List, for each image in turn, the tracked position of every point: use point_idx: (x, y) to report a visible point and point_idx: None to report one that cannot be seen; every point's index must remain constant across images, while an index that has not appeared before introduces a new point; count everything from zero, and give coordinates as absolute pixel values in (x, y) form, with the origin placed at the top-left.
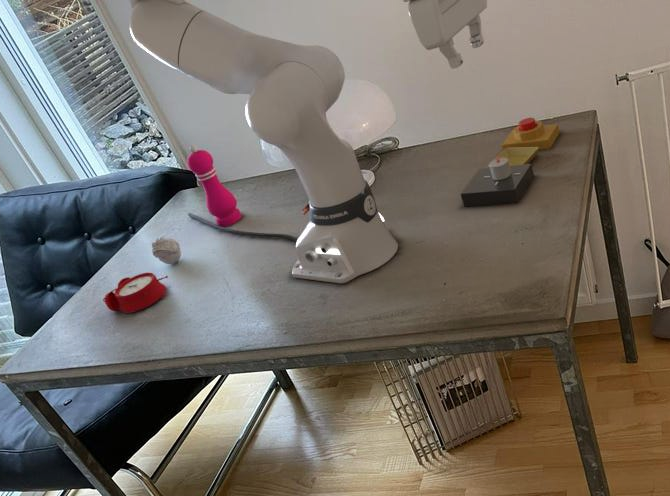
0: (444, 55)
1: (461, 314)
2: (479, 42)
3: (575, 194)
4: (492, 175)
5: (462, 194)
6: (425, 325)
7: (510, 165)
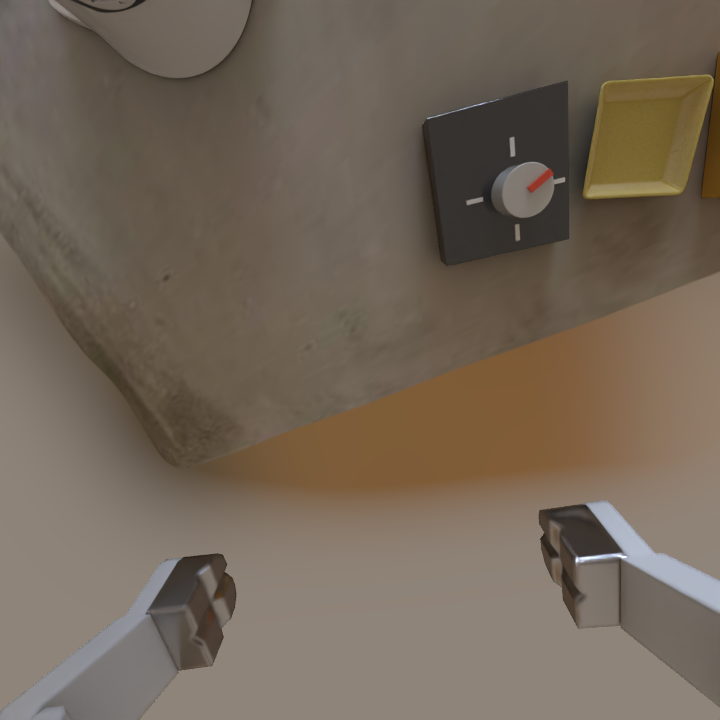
0: (79, 651)
1: (120, 354)
2: (554, 577)
3: (471, 359)
4: (499, 178)
5: (426, 125)
6: (72, 315)
7: (620, 137)
